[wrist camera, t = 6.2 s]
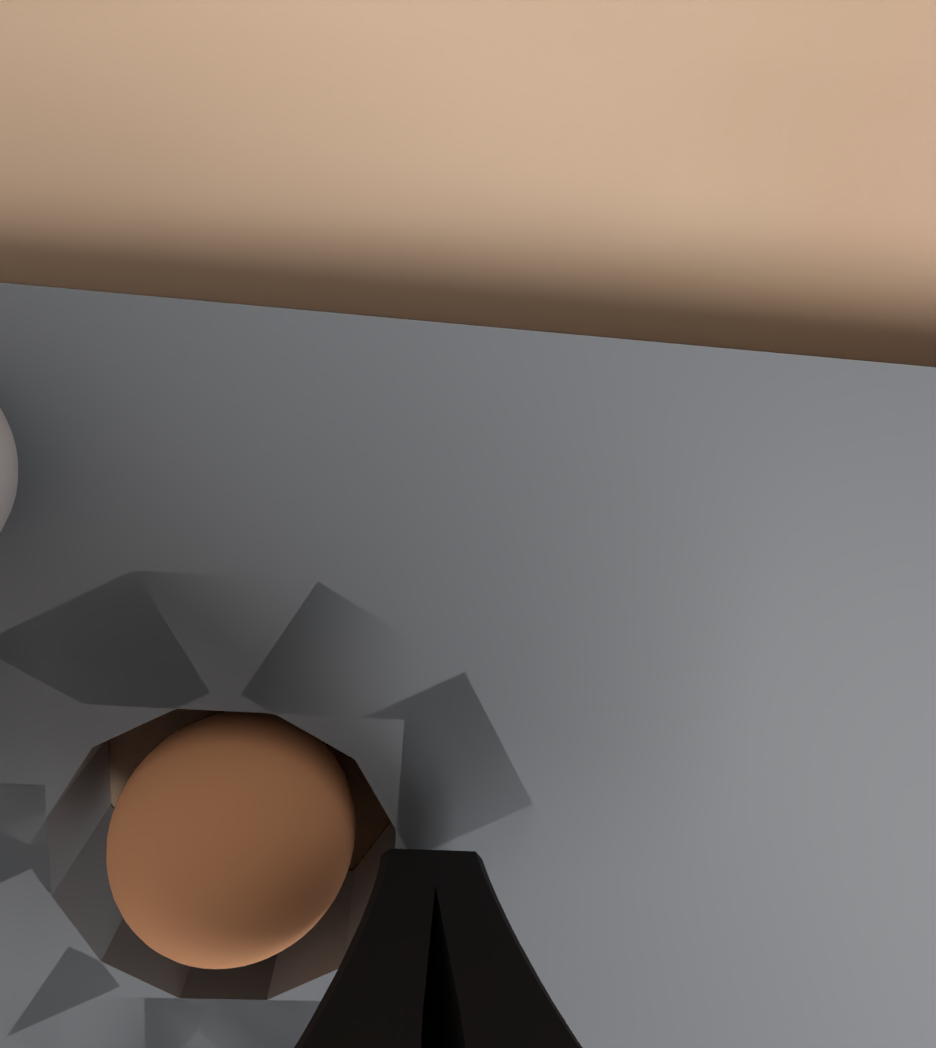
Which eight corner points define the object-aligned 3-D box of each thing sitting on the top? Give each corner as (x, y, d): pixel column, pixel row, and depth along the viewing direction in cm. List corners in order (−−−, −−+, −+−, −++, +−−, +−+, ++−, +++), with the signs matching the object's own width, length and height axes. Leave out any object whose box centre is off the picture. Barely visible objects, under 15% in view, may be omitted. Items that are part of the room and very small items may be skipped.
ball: (231, 899, 14) (247, 1073, 10) (65, 794, 12) (23, 956, 9) (372, 753, 14) (430, 877, 11) (227, 634, 13) (244, 735, 9)
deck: (903, 1128, 16) (975, 1247, 14) (-8, 1122, 15) (-81, 1255, 13) (1129, 385, 12) (1276, 398, 10) (-88, 274, 11) (-211, 263, 9)
